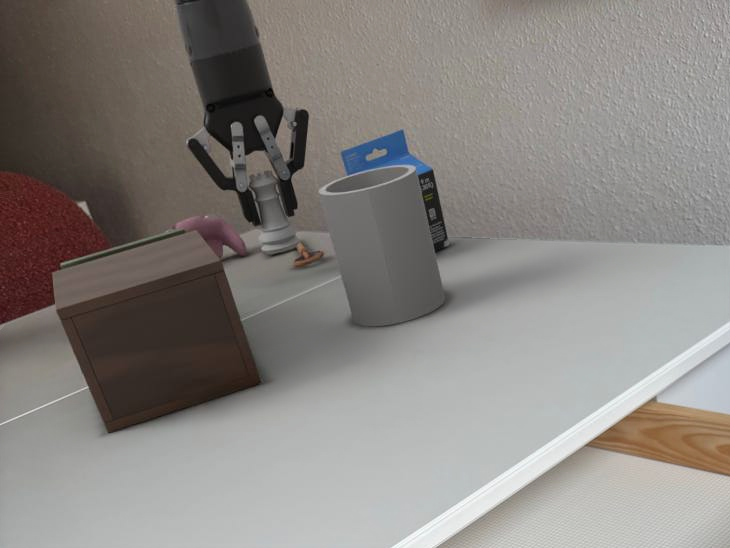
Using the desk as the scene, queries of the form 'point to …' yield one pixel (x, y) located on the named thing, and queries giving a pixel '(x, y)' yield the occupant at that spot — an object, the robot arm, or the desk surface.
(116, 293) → the cabinet
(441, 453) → the desk surface
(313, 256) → the key
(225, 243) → the video game controller
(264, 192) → the white chess rook
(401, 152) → the tape cartridge
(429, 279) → the cup
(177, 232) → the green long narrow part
